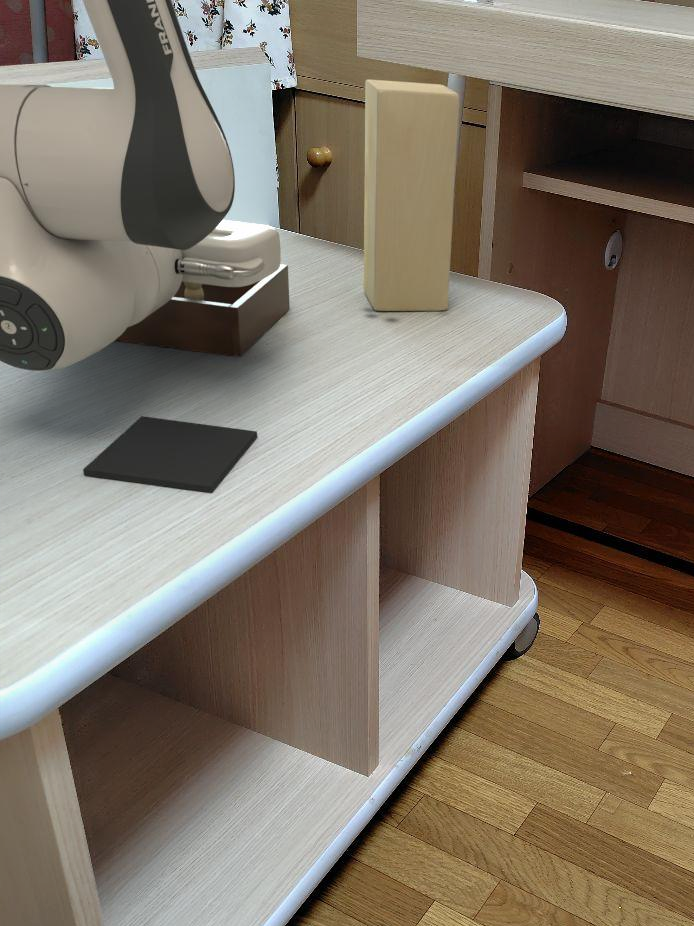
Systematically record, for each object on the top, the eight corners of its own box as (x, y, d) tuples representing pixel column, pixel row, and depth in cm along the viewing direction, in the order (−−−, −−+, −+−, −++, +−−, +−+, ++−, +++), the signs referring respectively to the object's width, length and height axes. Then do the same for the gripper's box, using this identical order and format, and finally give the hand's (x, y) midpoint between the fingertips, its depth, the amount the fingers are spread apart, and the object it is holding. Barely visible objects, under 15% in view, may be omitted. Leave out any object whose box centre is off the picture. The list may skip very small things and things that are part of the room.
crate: (92, 337, 88) (85, 288, 86) (158, 292, 100) (153, 247, 98) (241, 357, 88) (237, 308, 85) (289, 309, 99) (288, 264, 97)
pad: (83, 475, 68) (82, 469, 67) (142, 421, 75) (141, 415, 75) (211, 492, 67) (211, 486, 67) (257, 437, 75) (257, 431, 75)
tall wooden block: (433, 288, 109) (441, 82, 98) (450, 311, 103) (460, 94, 92) (361, 289, 107) (361, 77, 96) (374, 312, 101) (375, 89, 90)
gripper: (247, 237, 76) (302, 198, 88) (-11, 204, 77) (79, 170, 88) (252, 316, 79) (305, 268, 91) (5, 284, 80) (89, 241, 92)
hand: (191, 219), depth 90 cm, fingers closed
